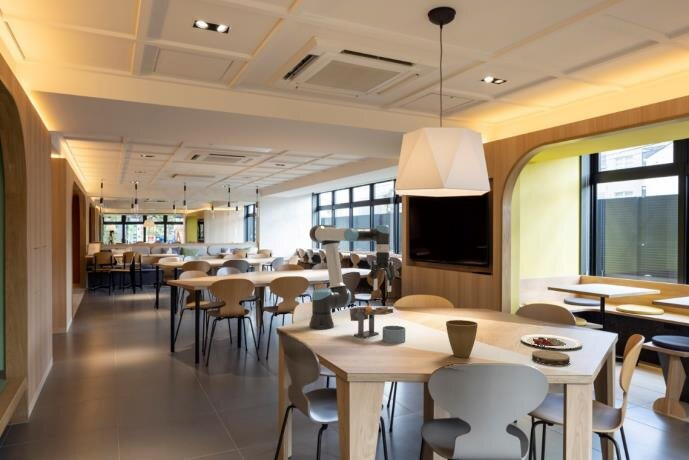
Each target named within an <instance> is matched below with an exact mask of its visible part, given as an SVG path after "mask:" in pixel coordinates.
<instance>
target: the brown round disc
mask: <svg viewBox="0 0 689 460" xmlns="http://www.w3.org/2000/svg"><path fill="white" fill-rule="evenodd" d="M570 358H571V357H570V355H568V354H567V353H563V352H560V351H555V350H546V349H545V350H544V349H543V350H542V349H541V350H540V349H539V350H534V351H532V353H531V360H532V361H534V360H535V361H534V362H536V361H537V362H536V363H538V362H540V363H539V364H542V363H544V364H543V365H547V364H551V365H550V366H556V365H562V366H566V365H565V364H568V363H569V362H570V361H571V359H570ZM569 364H570V363H569ZM569 364H568V365H569Z"/></svg>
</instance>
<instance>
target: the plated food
mask: <svg viewBox="0 0 689 460" xmlns="http://www.w3.org/2000/svg"><path fill="white" fill-rule="evenodd" d="M531 338H533V341H534V344H537V345H535V346H534V347H537V346H539V345H540V346H539V347H538V348H542V347H545V346H564V345H566V343H564V342H563V341H560V340H557V339H562V340H567V341H571V342H573V343H575V344H576V345H575V346H574V347H570V348H571V349H576V348H580V347H582V346H583V343H582V342H581V341H579V340H577V339H575V338H571V337H567V336H561V335H554V334H539V333H538V334H537V333H536V334H527V335H522V336H521V337H520V341H522V342H523V343H526V344H529V345H531V346H533V345H534V344H531V343H529V342H527V340H528V339H531ZM534 338H538V339H534ZM545 338H547V340H546V339H545ZM543 345H544V346H543ZM548 348H555V347H545V348H544V349H548ZM570 348H555V349H554V350H570Z"/></svg>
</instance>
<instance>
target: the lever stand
mask: <svg viewBox="0 0 689 460" xmlns="http://www.w3.org/2000/svg"><path fill="white" fill-rule="evenodd" d="M364 322H365V320H364V313H358V321H357V323H358V324H357V333H354V334H353V337H355V338H361V339H369V338H371V337H375V336H379V335H380V334H379V332H377V331H375V315H368V330H365V329H364V328H365V326H364V325H365V324H364Z"/></svg>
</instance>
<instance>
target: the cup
mask: <svg viewBox="0 0 689 460" xmlns="http://www.w3.org/2000/svg"><path fill="white" fill-rule="evenodd" d="M382 342H384V343H386V344H394V345H395V344H404V343H406V327H404V326H400V325H385V326H383V327H382Z"/></svg>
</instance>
